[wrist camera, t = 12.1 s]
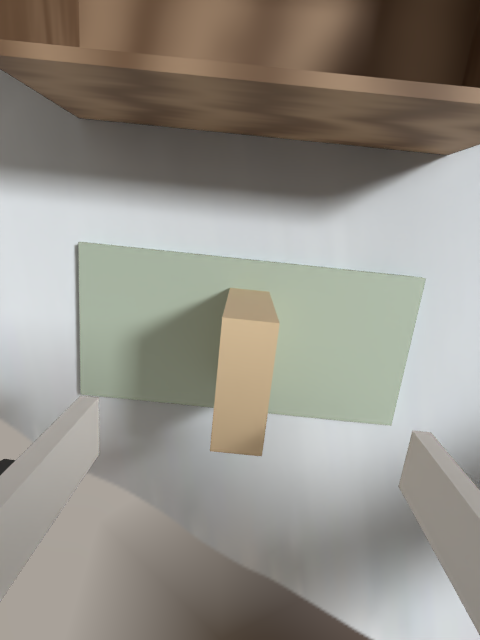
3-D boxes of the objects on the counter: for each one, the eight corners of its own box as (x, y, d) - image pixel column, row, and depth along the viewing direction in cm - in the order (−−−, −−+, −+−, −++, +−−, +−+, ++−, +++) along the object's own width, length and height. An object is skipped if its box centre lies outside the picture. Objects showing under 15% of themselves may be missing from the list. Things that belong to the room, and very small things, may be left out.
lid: (418, 276, 28) (510, 305, 18) (385, 418, 31) (449, 507, 22) (85, 241, 28) (-3, 251, 18) (86, 387, 31) (12, 464, 21)
